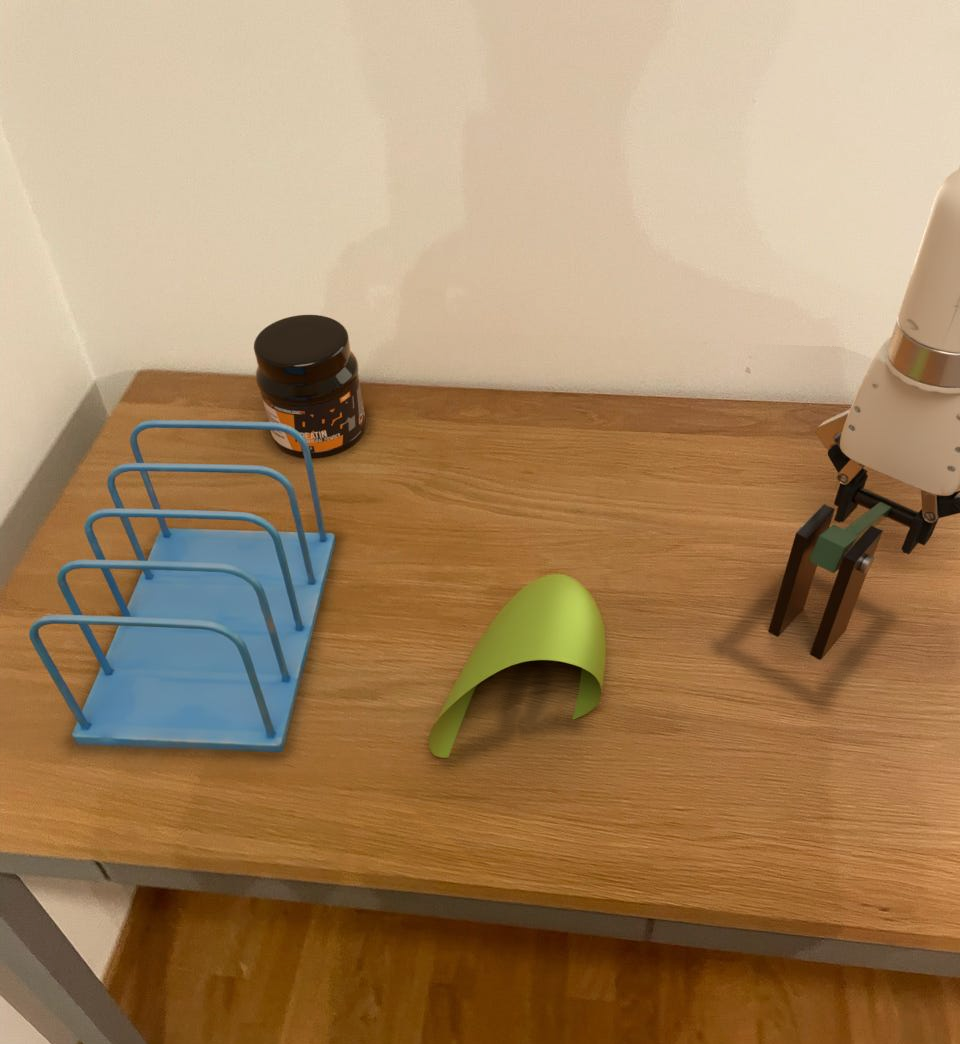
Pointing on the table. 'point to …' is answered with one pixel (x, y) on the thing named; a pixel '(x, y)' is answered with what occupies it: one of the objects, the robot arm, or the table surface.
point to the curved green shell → (532, 648)
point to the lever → (857, 528)
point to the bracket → (843, 589)
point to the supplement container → (310, 384)
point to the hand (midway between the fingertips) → (878, 527)
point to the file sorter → (200, 620)
